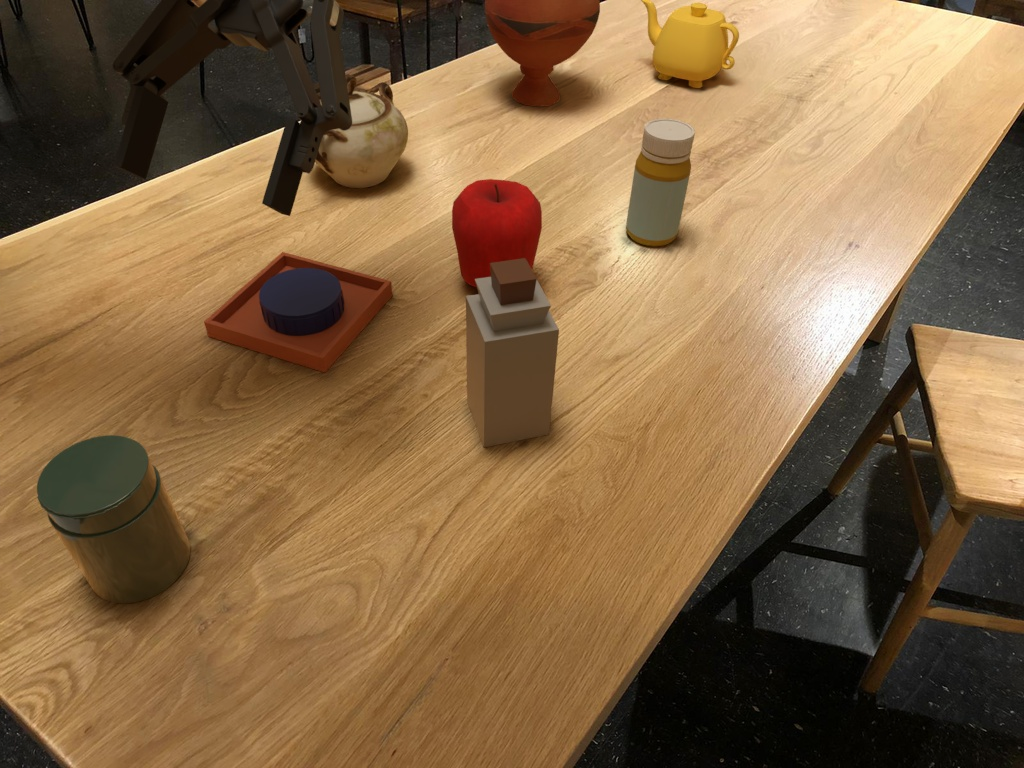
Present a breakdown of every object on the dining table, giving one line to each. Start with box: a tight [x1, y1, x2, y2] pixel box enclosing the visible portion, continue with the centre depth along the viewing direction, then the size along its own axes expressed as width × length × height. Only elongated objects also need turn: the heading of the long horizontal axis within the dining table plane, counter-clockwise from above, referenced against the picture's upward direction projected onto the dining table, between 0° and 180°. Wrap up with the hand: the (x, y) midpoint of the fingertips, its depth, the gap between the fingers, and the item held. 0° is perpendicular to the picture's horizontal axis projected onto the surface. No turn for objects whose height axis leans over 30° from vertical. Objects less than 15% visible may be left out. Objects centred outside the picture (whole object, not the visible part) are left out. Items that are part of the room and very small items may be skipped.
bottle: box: [625, 118, 696, 248], centre depth 99 cm, size 7×7×15 cm
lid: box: [259, 268, 344, 336], centre depth 88 cm, size 9×9×3 cm
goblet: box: [484, 0, 601, 108], centre depth 128 cm, size 19×19×25 cm
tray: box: [203, 251, 394, 373], centre depth 88 cm, size 15×15×2 cm
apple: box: [451, 178, 543, 289], centre depth 90 cm, size 10×10×14 cm
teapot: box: [640, 0, 740, 89], centre depth 142 cm, size 14×20×13 cm
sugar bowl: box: [315, 73, 409, 189], centre depth 109 cm, size 20×15×15 cm
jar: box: [36, 434, 191, 604], centre depth 60 cm, size 8×8×12 cm
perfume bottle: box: [465, 258, 560, 448], centre depth 72 cm, size 7×7×18 cm
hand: (200, 191), depth 59 cm, fingers open, 13 cm apart
